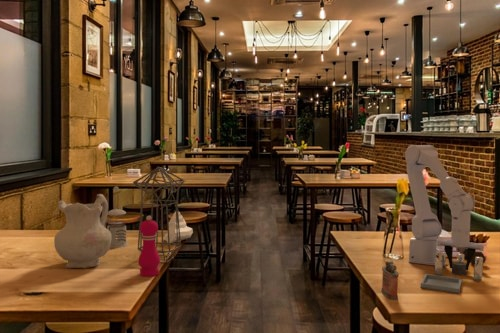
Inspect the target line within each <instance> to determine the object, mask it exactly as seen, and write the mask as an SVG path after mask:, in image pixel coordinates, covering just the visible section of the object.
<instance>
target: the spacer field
mask: <svg viewBox="0 0 500 333" xmlns="http://www.w3.org/2000/svg"><path fill="white" fill-rule="evenodd" d="M446 260H447V255H446V252H443V251H441V252H440V251H439V252H438V260H435V265H434V275H438V276H443V268H444V269H445V268H446V264H447V262H446ZM456 261H461V262H465V257H464V254H462V253H460V252H459V253H457V254H456ZM483 267H484V264H483V257H475V265H473V281H474V280H475V281H474V282H479V281H480V282H482V280H483V272H484V270H483V269H484V268H483Z"/></svg>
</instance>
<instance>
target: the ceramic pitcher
mask: <svg viewBox="0 0 500 333" xmlns="http://www.w3.org/2000/svg"><path fill="white" fill-rule="evenodd" d="M57 204H58V209H59V211H61V212H64V215H65V221H66V223H65V225H64V226H63V228H61V229H59V231H58V232H56V233H55V235H54V238H53V239H54V248H55V251H56V253H57V254H58V256H59V257H61V259H62V260H64V261H67V263H66V264H65V265H64V268H66V269H71V268H72V269H73V268H75V269H76V268H77V269H78V268H79V269H88V268H89V269H90V268H94V267H99V265H100V264H101V261H100V260H99V258H103V257H104V256H105V255H106V254H107V253H108V251H109V249H111V248H110V246H111V240H112V236H111V233H110V231H109V230H108V229H107V227H106V228H105V224H106V222H107V220H108V215H107V214H108V212H109V203H108V200H107V198H106V197H105V194H102V193H98V194H96V199H95V201H94V203H85V204H84V203H80V202H75V203H71V202H70V203H66V202H65V200H63V199H62V200H59V201H57ZM101 213H102V214H101Z"/></svg>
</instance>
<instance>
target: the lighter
mask: <svg viewBox="0 0 500 333" xmlns="http://www.w3.org/2000/svg"><path fill="white" fill-rule="evenodd" d="M384 262H385V266H382V267H381V271H382V278H381V279H382V280H381V282H382V284H381V286H382V287H381V293H382V295H383V296H384V297H386V298H387V299H389V300H390V301H391V300H392V301H396V300H397V301H398V300H399V295H398V289H399V288H398V283H399V281H398V280H399V278H398V277H399V272H398V271H397V266H396V264H394V261H389V260H385V261H384Z"/></svg>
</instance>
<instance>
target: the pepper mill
mask: <svg viewBox="0 0 500 333" xmlns="http://www.w3.org/2000/svg"><path fill="white" fill-rule="evenodd" d="M151 219H152V220H151ZM157 231H159V223H158V224H157V223H156V220H153V217H151V215H147V216H146V218H145V220H144V221H142V223H141V225H140V232H141V233H142V235H141V236H142V246H143V248H142V251H140V254H139V256H138V265H139V266H140V267H141V268H139V275H140V276H141V277H146V278H147V277H148V278H149V277H155V276H158V275H159V273H160V270H159V265H160V264H161V263H160V262H161V257H159V255H160V253H158V252H157V251H158V250H157V249H156V244H155V242H156V238H157V237H156V236H157V234H156V232H157Z"/></svg>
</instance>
